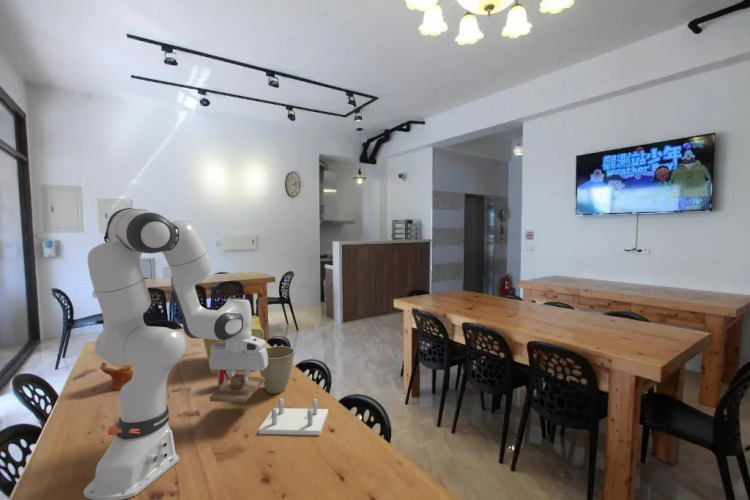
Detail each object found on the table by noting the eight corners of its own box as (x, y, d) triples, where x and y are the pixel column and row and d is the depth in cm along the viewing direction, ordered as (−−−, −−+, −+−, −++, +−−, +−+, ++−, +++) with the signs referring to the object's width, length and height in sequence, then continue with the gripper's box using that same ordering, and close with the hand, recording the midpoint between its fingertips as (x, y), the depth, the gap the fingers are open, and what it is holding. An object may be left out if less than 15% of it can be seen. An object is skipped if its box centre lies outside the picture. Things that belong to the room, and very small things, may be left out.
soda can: (229, 391, 148) (228, 362, 147) (214, 389, 149) (213, 361, 148) (239, 384, 154) (238, 356, 154) (224, 382, 156) (223, 355, 155)
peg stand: (328, 413, 129) (327, 395, 129) (319, 435, 115) (319, 415, 115) (273, 412, 130) (273, 394, 130) (258, 433, 116) (258, 414, 116)
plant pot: (256, 400, 139) (255, 360, 138) (258, 384, 154) (257, 348, 153) (296, 395, 143) (295, 356, 142) (294, 380, 158) (293, 344, 157)
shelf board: (245, 402, 118) (244, 385, 118) (209, 401, 119) (209, 384, 119) (264, 380, 136) (264, 366, 136) (233, 380, 137) (233, 365, 137)
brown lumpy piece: (93, 390, 150) (91, 355, 149) (156, 368, 173) (155, 338, 172) (111, 397, 143) (109, 360, 143) (174, 373, 167) (173, 341, 166)
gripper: (205, 344, 125) (205, 384, 125) (263, 345, 124) (263, 385, 124) (214, 339, 131) (214, 377, 131) (269, 340, 130) (269, 378, 130)
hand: (238, 381), depth 128 cm, fingers closed on shelf board, 3 cm apart
